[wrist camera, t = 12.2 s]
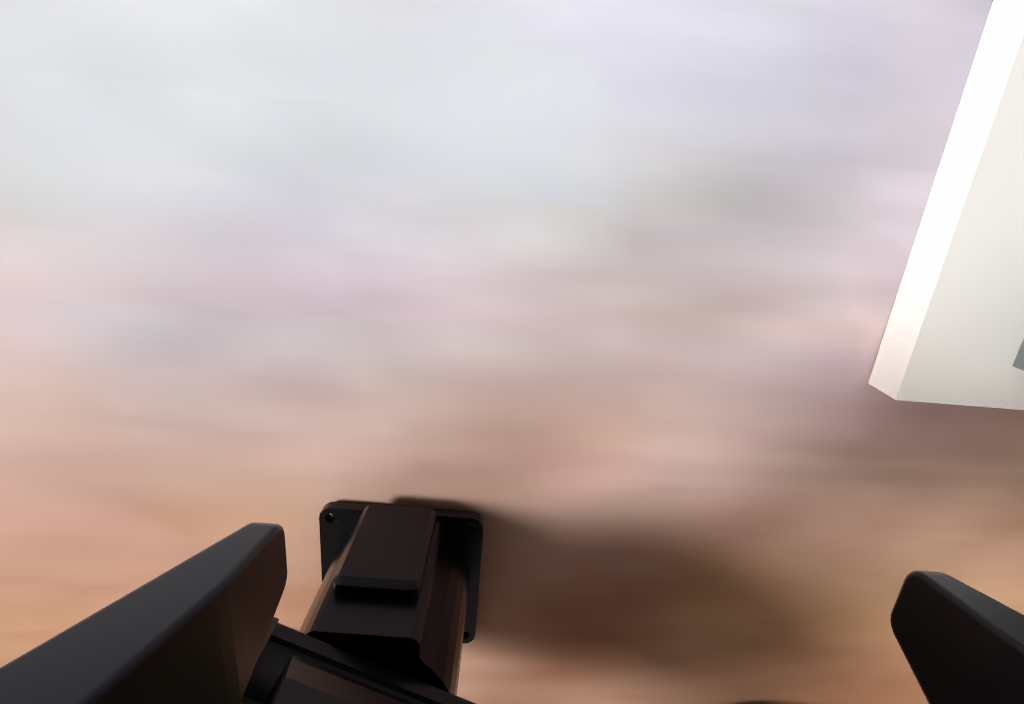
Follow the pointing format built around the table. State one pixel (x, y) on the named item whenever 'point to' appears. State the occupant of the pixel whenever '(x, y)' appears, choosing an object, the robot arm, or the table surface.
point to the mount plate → (969, 246)
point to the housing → (1020, 358)
